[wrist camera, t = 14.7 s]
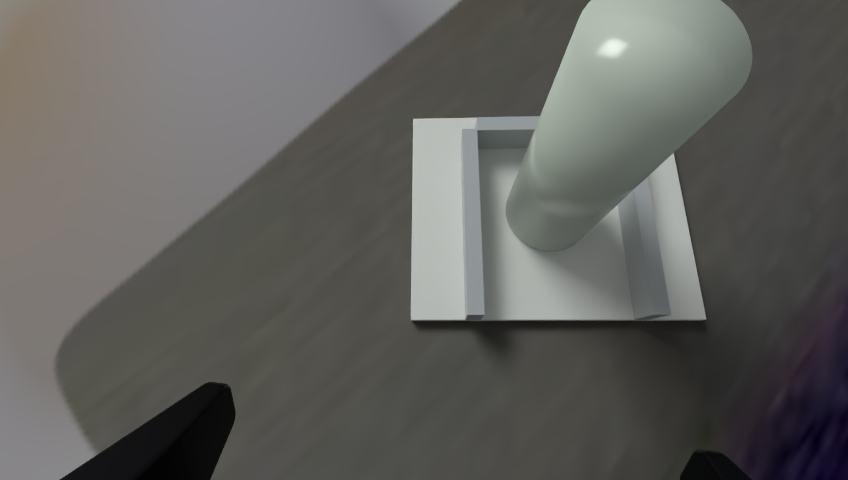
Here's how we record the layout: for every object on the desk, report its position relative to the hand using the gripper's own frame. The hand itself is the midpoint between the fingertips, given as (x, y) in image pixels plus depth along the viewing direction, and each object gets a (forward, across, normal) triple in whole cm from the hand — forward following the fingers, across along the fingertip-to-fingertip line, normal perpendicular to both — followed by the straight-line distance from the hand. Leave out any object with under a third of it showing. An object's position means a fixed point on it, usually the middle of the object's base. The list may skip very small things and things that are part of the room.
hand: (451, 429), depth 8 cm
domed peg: (+16, -5, +2) cm, 17 cm away
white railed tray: (+17, -5, +2) cm, 18 cm away
